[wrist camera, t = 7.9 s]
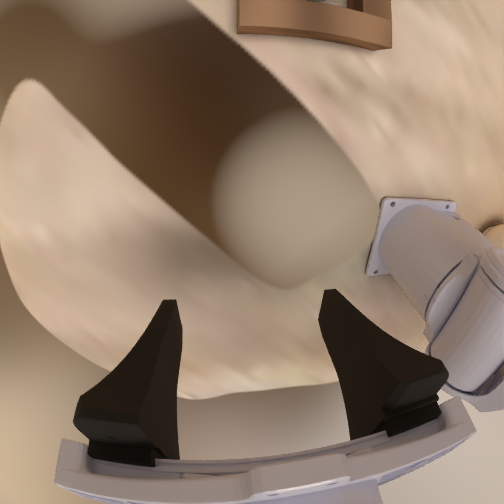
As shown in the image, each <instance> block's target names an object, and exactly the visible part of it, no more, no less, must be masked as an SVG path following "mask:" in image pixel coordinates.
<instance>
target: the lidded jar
mask: <svg viewBox="0 0 504 504" xmlns="http://www.w3.org/2000/svg"><path fill="white" fill-rule="evenodd" d="M482 234H483V235H484V236H486V237H487V238H488V239H489V240H490V241H491V242H492V244H493V245H494V247H501V248H503V249H504V224H501V225H497V226H491V227H489V228H487V229H486V230H485V231H484V232H483V233H482Z"/></svg>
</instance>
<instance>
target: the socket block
mask: <svg viewBox="0 0 504 504" xmlns="http://www.w3.org/2000/svg"><path fill="white" fill-rule="evenodd" d="M347 2H348V9H347V8H343V7H339V6H334V5H329V4H323V3H318V2H312V1H305V0H238V1H237V34H270V35H284V36H295V37H304V38H312V39H319V40H325V41H332V42H337V43H343V44H348V45H353V46H357V47H362V48H366V49H370V50H374V51H375V50H382V49H390V48H392V16H391V0H347Z"/></svg>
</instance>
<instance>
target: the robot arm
mask: <svg viewBox="0 0 504 504" xmlns="http://www.w3.org/2000/svg"><path fill="white" fill-rule="evenodd" d="M392 202H393V204H392V205H391V203H392ZM446 205H447V206H446ZM456 207H457V204H456V202H454V201H446V200H431V199H414V198H393V197H386V198H384V199H383V200H382V203H381V208H380V213H379V218H378V223H377V227H376V232H375V236H374V240H373V244H372V248H371V253H370V256H369V260H368V264H367V268H366V274H367V275H368V276H378V275H388V274H391V275H392V277H393V278H394V279H395V281H396V282H397V283H398V285H399V286H400V287H401V289H402V290H403V291H404V293H405V294H406V296H407V297H408V298H409V300H410V301H411V302H412V304H413V305H414V307H415V308H416V310H417V311H418V312H419V314H420V315H421V317H422V318H423V320H424V321H425V323H426V328H425V330H424V331H423V334H424V335H425V337H426V338H427V340H428V341H429V344H428V346H427V348H426V351H425V354H424V353H421V352H419V351H417V350H415V349H413V348H411V347H409V346H407V345H405V344H403V343H402V342H400V341H398V340H397V339H395V338H393V337H392V336H390V335H389V334H387V333H386V332H385V331H383V330H382V329H380V328H379V327H378V326H376V325H375V324H374V323H373V322H371V321H370V320H369V319H368V318H367V317H366V316H364V315H363V314H362V313H361V312H360V311H359V310H358V309H357V308H355V307H354V306H353V305H352V304H351V303H350V302H349V301H348V300H347V299H346V298H345V297H344V296H343V295H342V294H341V293H340V292H339V291H337V290H336V289H330V290H324V294H323V299H322V304H321V309H320V313H319V318H318V321H319V325H320V329H321V333H322V337H323V339H324V342H325V344H326V347H327V349H328V352H329V354H330V357H331V359H332V362H333V364H334V367H335V369H336V372H337V375H338V378H339V382H340V386H341V390H342V394H343V399H344V403H345V408H346V413H347V419H348V425H349V433H350V441H347V442H344V443H339V444H335V445H331V446H327V447H322V448H317V449H312V450H306V451H301V452H295V453H289V454H282V455H275V456H266V457H256V458H245V459H229V460H180V456H179V445H178V430H177V384H178V375H179V368H180V360H181V352H182V324H181V320H180V316H179V311H178V306H177V301H176V300H163V301H162V303H161V305H160V306H159V308H158V310H157V312H156V314H155V315H154V317H153V319H152V320H151V322H150V324H149V325H148V327H147V328H146V330H145V332H144V333H143V334H142V336H141V337H140V339H139V340H138V342H137V343H136V344H135V346H134V347H133V348H132V350H131V351H130V352H129V353H128V354H127V356H126V357H125V358H124V359H123V360H122V361H121V362H120V363H119V364H118V366H117V367H116V368H115V369H114V370H113V371H112V372H111V373H110V374H108V375H107V376H106V377H105V378H104V379H103V380H102V381H101V382H99V383H98V384H97V385H95V386H94V387H93V388H91V389H90V390H88V391H87V392H86V393H84V394H83V395H81V396H80V398H79V401H78V403H77V407H76V411H75V415H74V419H73V423H74V425H75V427H76V428H77V429H78V430H79V431H80V432H81V433H83V434H84V435H85V436H86V437H87V438H88V439H89V446H88V445H87V444H84V443H81V442H77V441H72V440H68V439H64V438H63V439H61V444H60V450H59V455H58V460H57V466H56V474H55V480H54V483H55V484H56V485H57V486H59V487H61V488H64V489H66V490H68V491H70V492H72V493H75V494H77V495H80V496H82V497H85V498H89V499H93V500H96V501H100V502H105V503H109V504H383V503H382V499H381V496H380V492H379V489H378V486H379V485H382V484H384V483H386V482H389V481H392V480H394V479H396V478H399V477H401V476H403V475H405V474H407V473H410V472H412V471H414V470H416V469H418V468H420V467H422V466H424V465H426V464H428V463H430V462H432V461H434V460H436V459H438V458H440V457H441V456H443V455H445V454H447V453H448V452H450V451H452V450H453V449H455V448H456V447H458V446H459V445H460V444H461V443H463V442H464V441H466V440H467V439H468V438H469V437H471V436H472V435H473V434H475V433H476V429H475V427H474V424H473V423H472V420H471V418H470V416H469V415H468V412H467V410H466V409H465V407H464V405H463V403H462V401H461V399H463V400H465V401H467V402H469V403H470V404H472V405H473V406H474V407H475V408H476V409H477V410H478V411H480V412H489V411H497V410H502V409H504V249H503V248H501V247H494V245H493V244H492V242H491V241H490V240H489V239H488V238H487V237H486V236H484V235H483V234H482V233H481V232H480V231H478V230H477V229H476V228H475V227H473V226H472V225H471V224H470V223H468V222H467V221H466V220H464V219H463V218H462V217H460V216H459V215H458V214H456V213H455V211H456ZM375 270H376V271H375ZM374 271H375V272H374ZM440 389H442V390H443V391H445V392H446V393H448V394H449V395H451V396H454V398H452V399H450V400H448V401H445V402H444V403H442V404H440V405H438V403H437V401H438V399H439V397H438V395H437V392H438V391H439V390H440Z"/></svg>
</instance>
